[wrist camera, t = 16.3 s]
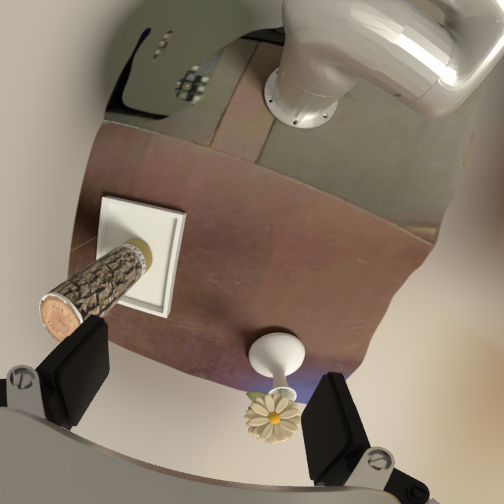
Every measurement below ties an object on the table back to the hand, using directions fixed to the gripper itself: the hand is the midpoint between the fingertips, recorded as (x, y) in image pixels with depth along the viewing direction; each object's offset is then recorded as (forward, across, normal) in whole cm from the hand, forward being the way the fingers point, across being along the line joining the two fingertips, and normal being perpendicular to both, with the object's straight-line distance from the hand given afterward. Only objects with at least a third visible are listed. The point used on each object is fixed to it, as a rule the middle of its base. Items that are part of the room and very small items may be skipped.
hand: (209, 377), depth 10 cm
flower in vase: (+38, -12, +24) cm, 47 cm away
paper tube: (+38, +18, +11) cm, 43 cm away
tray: (+38, +18, +11) cm, 44 cm away
